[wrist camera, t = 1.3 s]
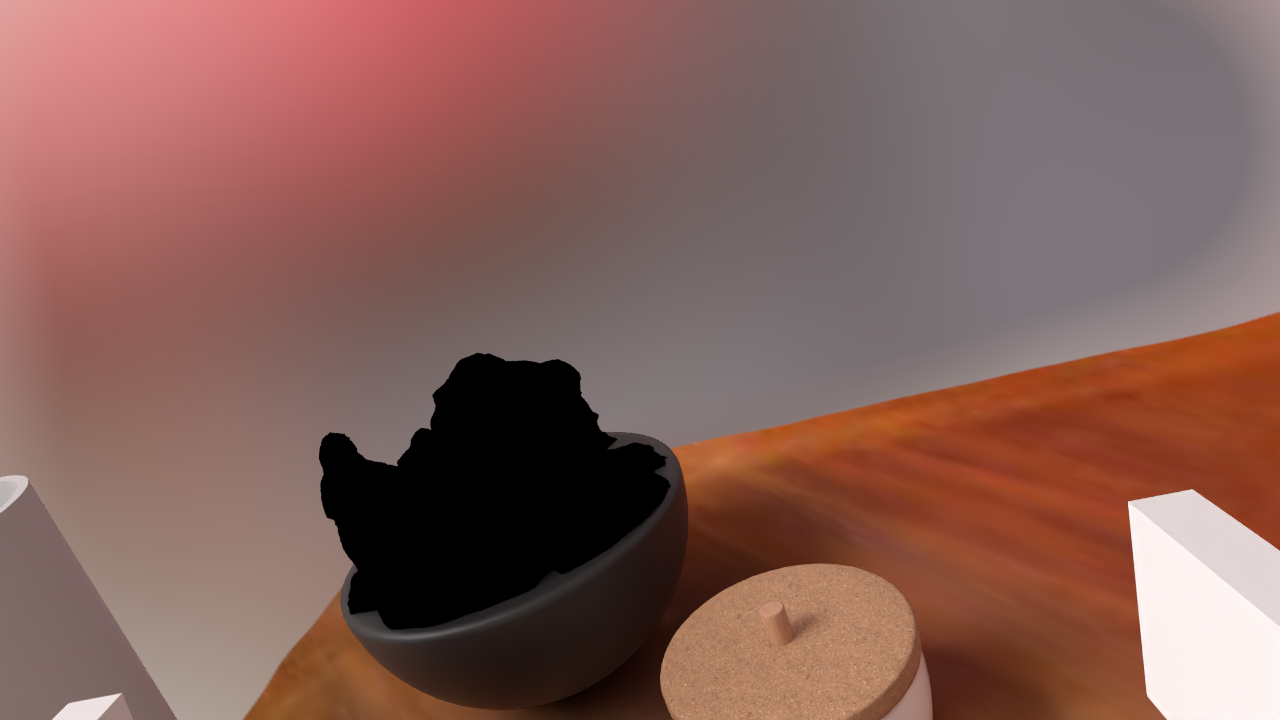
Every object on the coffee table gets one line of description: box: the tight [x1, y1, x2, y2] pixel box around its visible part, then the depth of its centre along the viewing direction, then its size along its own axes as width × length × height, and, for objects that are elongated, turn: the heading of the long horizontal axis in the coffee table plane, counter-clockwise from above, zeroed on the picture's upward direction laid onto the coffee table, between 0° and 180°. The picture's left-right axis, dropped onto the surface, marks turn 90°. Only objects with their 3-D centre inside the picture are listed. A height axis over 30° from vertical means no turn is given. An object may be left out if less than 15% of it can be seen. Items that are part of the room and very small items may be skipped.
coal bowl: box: [319, 353, 688, 710], centre depth 52 cm, size 20×20×19 cm
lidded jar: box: [660, 563, 932, 720], centre depth 38 cm, size 11×11×9 cm
